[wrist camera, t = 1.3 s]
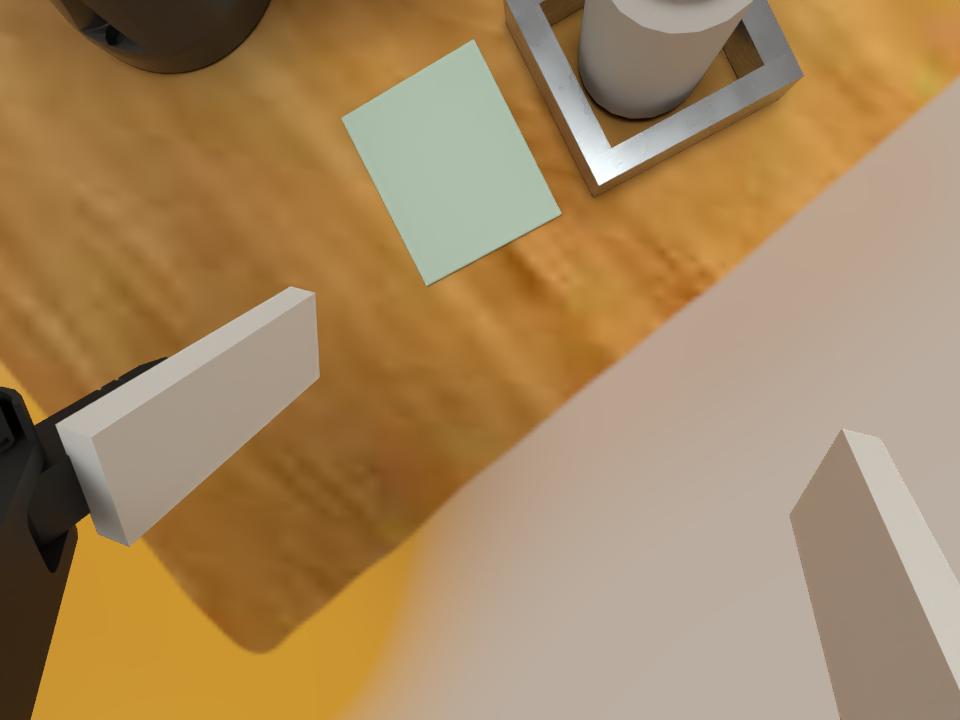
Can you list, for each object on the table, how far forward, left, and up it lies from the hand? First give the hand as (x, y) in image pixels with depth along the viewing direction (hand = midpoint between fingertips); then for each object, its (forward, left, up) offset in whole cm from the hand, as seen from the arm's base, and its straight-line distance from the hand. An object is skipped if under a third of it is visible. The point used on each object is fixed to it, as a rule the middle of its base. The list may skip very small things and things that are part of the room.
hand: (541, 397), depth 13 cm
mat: (-13, 0, -21) cm, 24 cm away
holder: (-13, +13, -21) cm, 28 cm away
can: (-13, +13, -21) cm, 28 cm away
